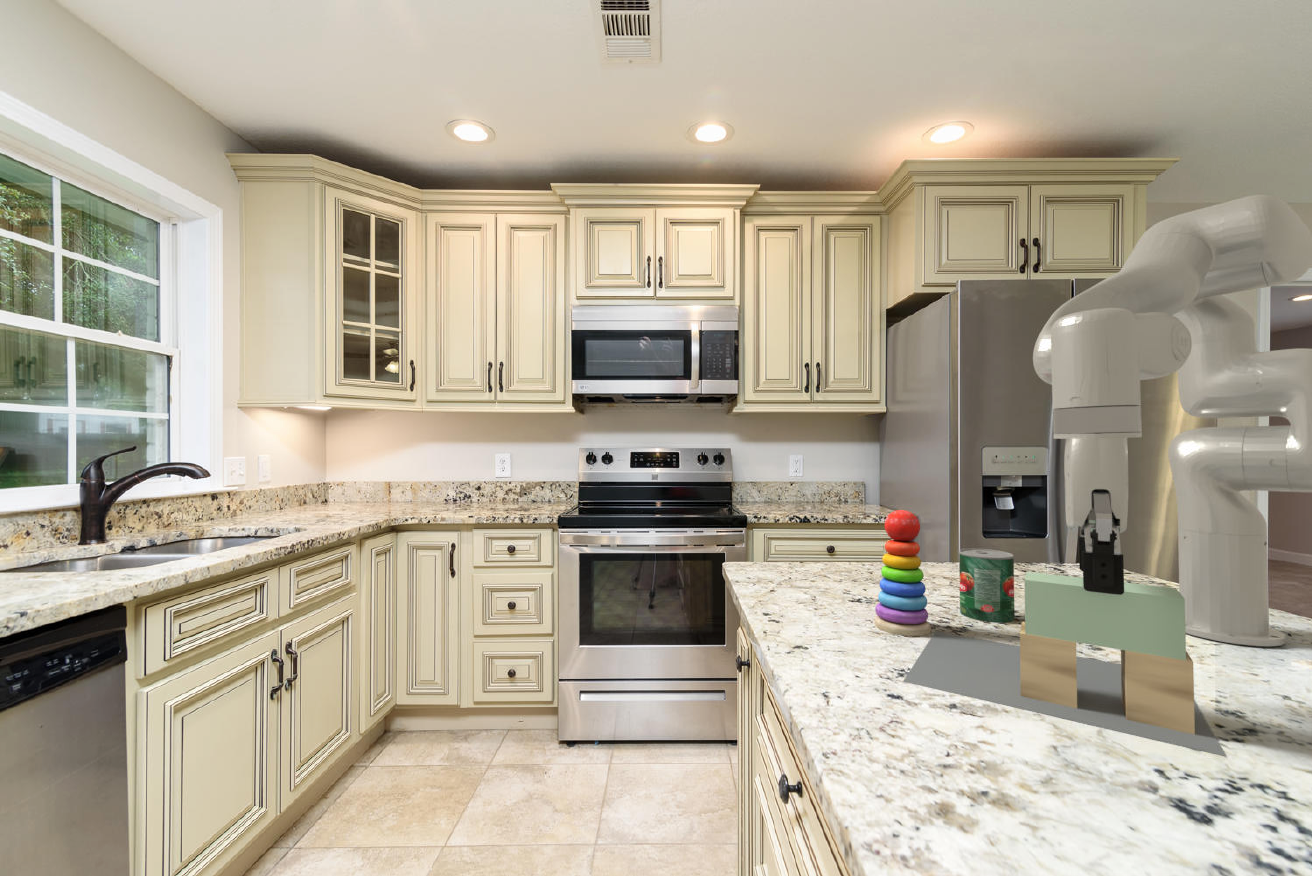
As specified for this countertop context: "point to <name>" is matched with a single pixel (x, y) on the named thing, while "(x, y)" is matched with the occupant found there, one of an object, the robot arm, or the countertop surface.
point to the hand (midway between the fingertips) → (1100, 581)
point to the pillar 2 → (1158, 690)
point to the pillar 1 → (1048, 669)
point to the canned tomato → (987, 585)
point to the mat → (998, 680)
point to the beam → (1106, 615)
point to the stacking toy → (902, 580)
